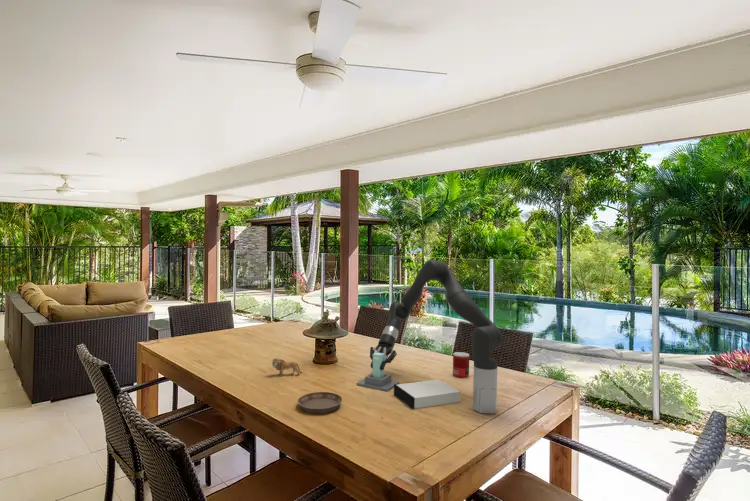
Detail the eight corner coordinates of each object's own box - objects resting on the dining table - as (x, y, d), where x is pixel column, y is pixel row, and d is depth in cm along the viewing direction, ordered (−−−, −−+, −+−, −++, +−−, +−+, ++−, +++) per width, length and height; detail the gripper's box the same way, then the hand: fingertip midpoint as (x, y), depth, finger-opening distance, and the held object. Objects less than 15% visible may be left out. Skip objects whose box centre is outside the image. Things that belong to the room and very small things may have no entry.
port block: (399, 383, 198) (399, 375, 198) (387, 391, 188) (387, 382, 188) (369, 378, 206) (369, 369, 206) (356, 385, 195) (356, 376, 195)
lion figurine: (272, 378, 203) (272, 359, 203) (271, 375, 208) (271, 356, 208) (303, 375, 208) (303, 357, 208) (301, 372, 213) (301, 354, 213)
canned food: (469, 378, 208) (469, 356, 208) (452, 377, 210) (453, 355, 210) (468, 374, 216) (469, 352, 215) (452, 372, 217) (453, 351, 217)
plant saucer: (300, 418, 158) (300, 409, 158) (295, 400, 175) (295, 393, 175) (346, 413, 163) (346, 405, 163) (337, 397, 180) (337, 390, 180)
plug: (384, 379, 198) (384, 353, 197) (379, 381, 194) (380, 355, 194) (376, 377, 200) (377, 352, 199) (372, 380, 196) (372, 354, 196)
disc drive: (393, 395, 184) (393, 384, 184) (438, 389, 193) (438, 378, 193) (412, 410, 168) (412, 398, 168) (460, 403, 177) (460, 391, 177)
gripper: (373, 331, 206) (360, 362, 196) (399, 334, 200) (387, 366, 189) (378, 340, 211) (365, 370, 201) (404, 343, 204) (392, 375, 194)
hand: (376, 368), depth 195 cm, fingers closed on plug, 4 cm apart
